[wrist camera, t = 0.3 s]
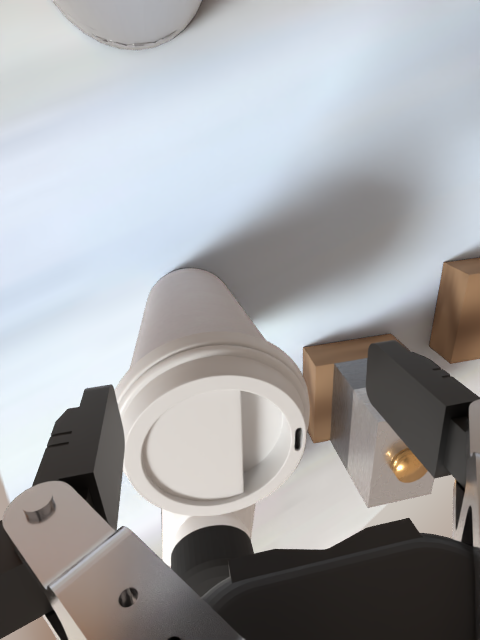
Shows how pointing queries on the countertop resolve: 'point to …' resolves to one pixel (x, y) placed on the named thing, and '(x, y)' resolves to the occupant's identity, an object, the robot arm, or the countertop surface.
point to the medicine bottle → (205, 545)
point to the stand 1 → (329, 377)
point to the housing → (371, 443)
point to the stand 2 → (458, 312)
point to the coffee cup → (208, 402)
